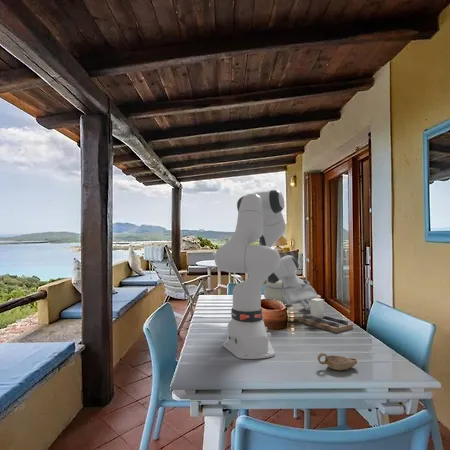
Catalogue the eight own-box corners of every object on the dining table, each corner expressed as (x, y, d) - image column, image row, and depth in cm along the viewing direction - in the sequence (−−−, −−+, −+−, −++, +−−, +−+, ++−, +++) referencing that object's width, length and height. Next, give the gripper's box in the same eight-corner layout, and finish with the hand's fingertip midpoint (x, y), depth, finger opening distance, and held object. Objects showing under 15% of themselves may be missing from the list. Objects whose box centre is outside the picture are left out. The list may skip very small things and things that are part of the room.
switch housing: (298, 321, 170) (298, 314, 170) (314, 318, 177) (314, 311, 177) (336, 332, 152) (336, 324, 152) (352, 328, 159) (352, 320, 159)
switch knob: (310, 317, 168) (310, 299, 168) (317, 316, 171) (317, 298, 171) (317, 319, 165) (317, 300, 165) (323, 317, 168) (323, 299, 168)
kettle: (298, 307, 201) (298, 264, 201) (267, 307, 200) (267, 264, 200) (287, 298, 226) (288, 260, 226) (260, 298, 225) (260, 260, 225)
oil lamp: (352, 364, 118) (352, 349, 118) (362, 373, 110) (362, 357, 110) (314, 364, 117) (314, 349, 117) (321, 373, 110) (321, 357, 110)
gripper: (283, 284, 172) (297, 307, 164) (310, 280, 184) (325, 302, 176) (276, 291, 176) (290, 315, 168) (304, 288, 188) (318, 309, 180)
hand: (308, 308), depth 172 cm, fingers closed
